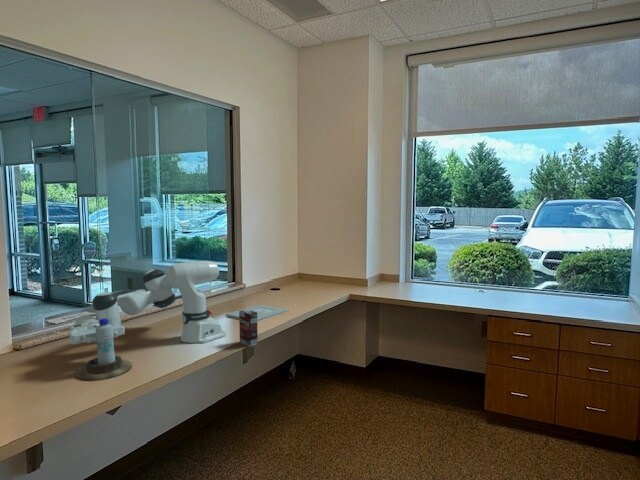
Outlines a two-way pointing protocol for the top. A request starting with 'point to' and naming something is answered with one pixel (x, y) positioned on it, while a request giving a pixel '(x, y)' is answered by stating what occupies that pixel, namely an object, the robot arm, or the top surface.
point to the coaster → (103, 376)
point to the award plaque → (260, 312)
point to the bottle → (105, 342)
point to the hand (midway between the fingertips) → (103, 337)
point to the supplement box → (248, 327)
